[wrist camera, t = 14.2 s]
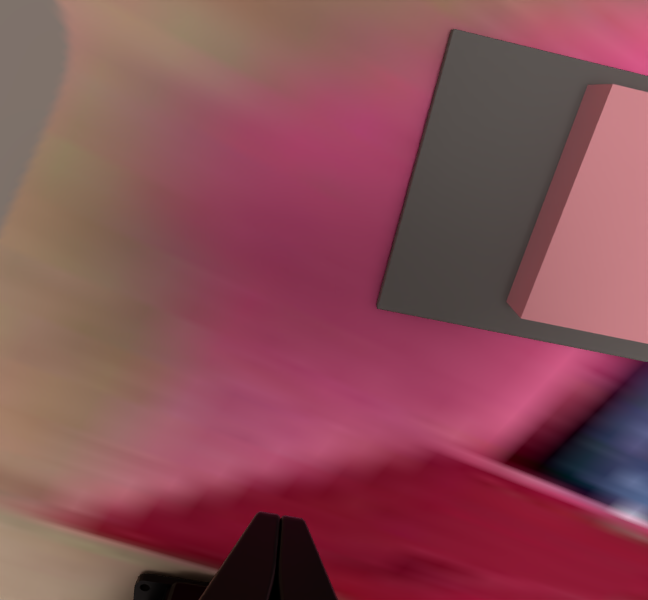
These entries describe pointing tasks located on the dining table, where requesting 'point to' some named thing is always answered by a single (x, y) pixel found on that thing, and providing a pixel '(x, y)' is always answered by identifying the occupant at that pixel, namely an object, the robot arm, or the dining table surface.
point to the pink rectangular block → (593, 224)
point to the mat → (489, 186)
